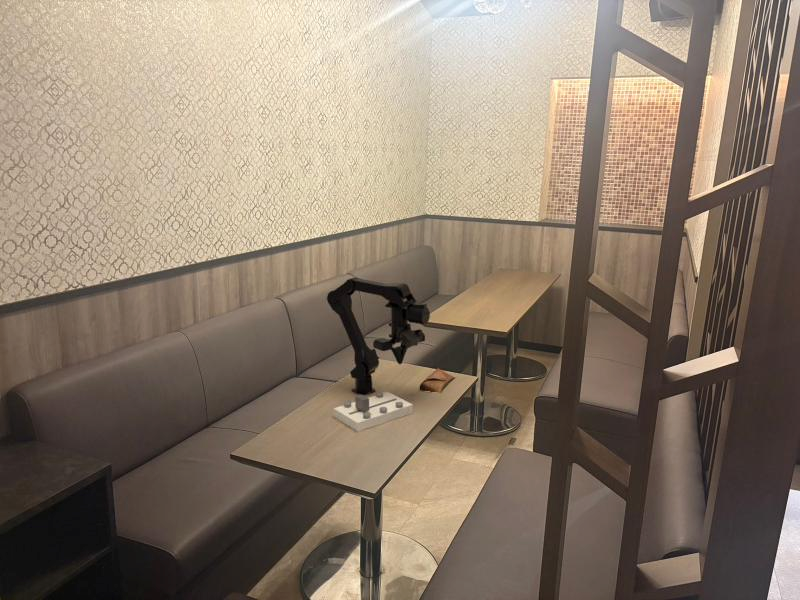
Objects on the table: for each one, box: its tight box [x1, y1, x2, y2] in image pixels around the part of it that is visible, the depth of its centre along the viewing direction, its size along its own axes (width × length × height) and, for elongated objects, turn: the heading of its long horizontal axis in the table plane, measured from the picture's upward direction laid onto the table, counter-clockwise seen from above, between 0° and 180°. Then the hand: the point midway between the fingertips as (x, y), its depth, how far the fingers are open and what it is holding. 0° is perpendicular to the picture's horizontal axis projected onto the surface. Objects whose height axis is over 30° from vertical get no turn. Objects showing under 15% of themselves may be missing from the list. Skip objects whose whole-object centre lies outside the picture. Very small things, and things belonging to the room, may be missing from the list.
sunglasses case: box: [419, 367, 456, 394], centre depth 220 cm, size 18×7×7 cm
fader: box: [354, 394, 369, 412], centre depth 190 cm, size 4×2×4 cm, turn 38°
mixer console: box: [333, 391, 414, 433], centre depth 193 cm, size 14×22×4 cm, turn 128°
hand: (399, 363), depth 204 cm, fingers closed
